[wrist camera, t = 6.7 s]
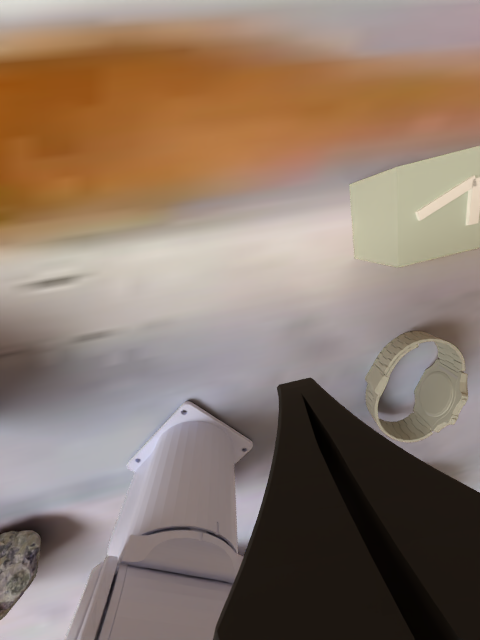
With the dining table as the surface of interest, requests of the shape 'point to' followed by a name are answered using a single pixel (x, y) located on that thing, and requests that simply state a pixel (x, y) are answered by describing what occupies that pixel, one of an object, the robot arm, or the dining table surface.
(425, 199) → the block marked 7
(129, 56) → the dining table surface
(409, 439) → the wristwatch
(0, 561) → the mineral rock
